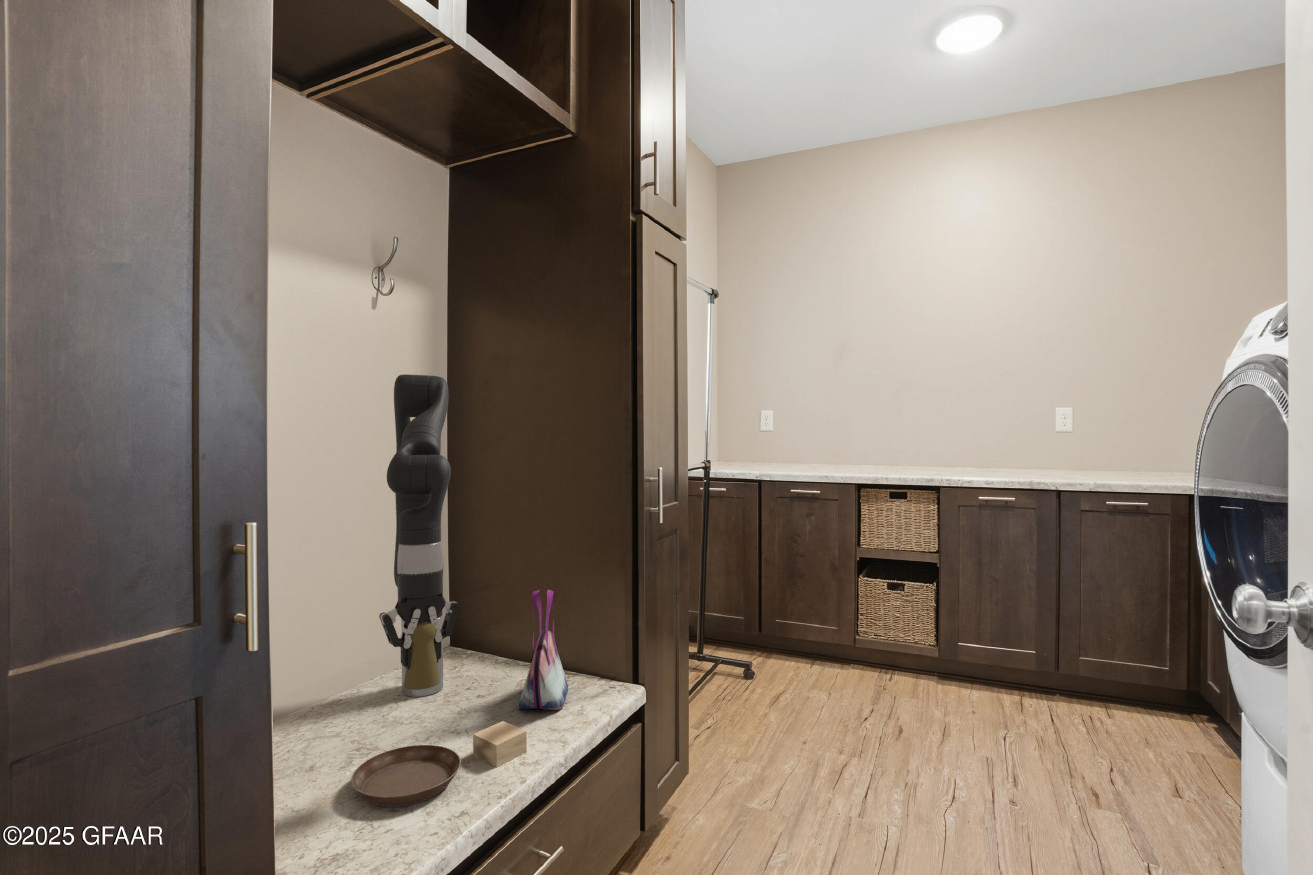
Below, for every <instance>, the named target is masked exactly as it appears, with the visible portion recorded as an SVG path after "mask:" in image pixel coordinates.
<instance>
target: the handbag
mask: <svg viewBox="0 0 1313 875" xmlns="http://www.w3.org/2000/svg"><path fill="white" fill-rule="evenodd" d="M540 592H541V591H540V589H537V590H534V591H533V592H532V594H531V610H532V618H533V622H535V603H536V606H537V609H538V616H539V617H538V618H539V636H538V638H537V641H536V645H535V633H534V631H533V634H532V653H531V654H532V656H531V661H530V664H529V665H530V667H529V670H528V673H527V675H526V676H527V677H526V679H525V682H524V685H523V688H522V691H521V695H520V698H519V701H518V709H519V710H538V709H540V710H549V711H550V710H551V711H553V710H554V711H555V710H561V709H563V708H564V705H565V702H566V698H567V695H568V691H569V690H568V689H569V685H568V680H567V677H566V674H565V670H564V669H563V668H564V667H563V665H562V662H561V658H560V655H559V652H558V648H557V645H556V640H555V626H554V624H555V622H554V621H552V623H553V624H552V631H551V630H550V629H549V618H550V614H551V611H552V609H554V607H555V601H556V592H555V591H553V590H551V589H547V590H546V597H547V598H546V614H545V629H544V630H542V620H543V619H542V618H543V617H542V614H543V612H542V611H543V610H542V601H541V593H540Z"/></svg>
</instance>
